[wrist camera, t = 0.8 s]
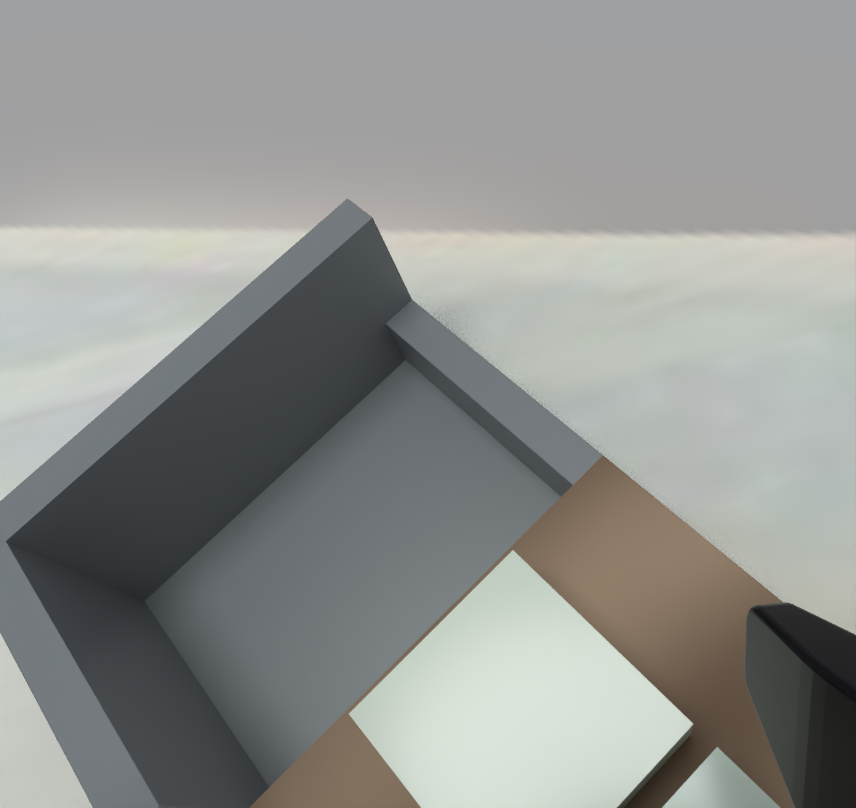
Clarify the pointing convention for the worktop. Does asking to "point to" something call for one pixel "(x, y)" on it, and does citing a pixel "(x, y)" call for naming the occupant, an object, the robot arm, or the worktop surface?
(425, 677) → the tile
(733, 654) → the walnut ledge
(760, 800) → the tile
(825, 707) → the robot arm
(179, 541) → the box
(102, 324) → the worktop surface
